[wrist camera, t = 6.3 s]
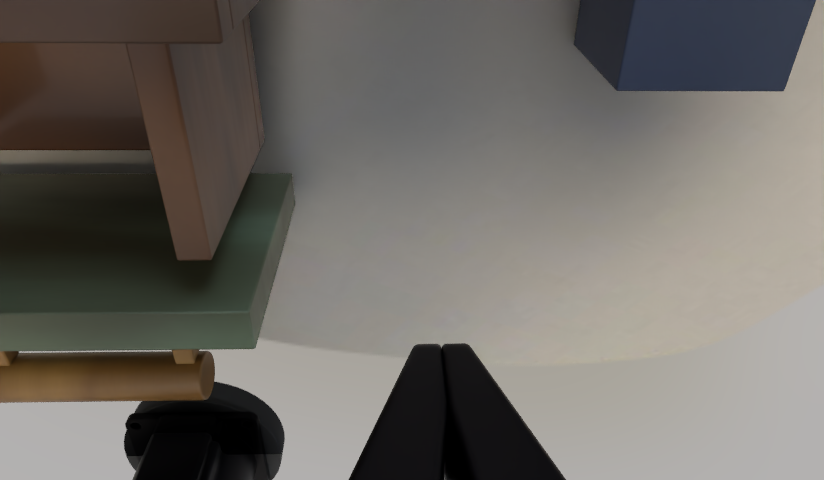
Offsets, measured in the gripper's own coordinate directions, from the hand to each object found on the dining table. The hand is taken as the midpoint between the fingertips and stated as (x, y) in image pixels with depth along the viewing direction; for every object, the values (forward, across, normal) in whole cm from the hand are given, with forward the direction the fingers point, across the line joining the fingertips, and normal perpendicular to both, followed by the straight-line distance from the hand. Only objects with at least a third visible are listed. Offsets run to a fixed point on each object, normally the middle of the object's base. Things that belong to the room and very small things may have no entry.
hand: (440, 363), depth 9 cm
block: (+13, -7, -3) cm, 15 cm away
